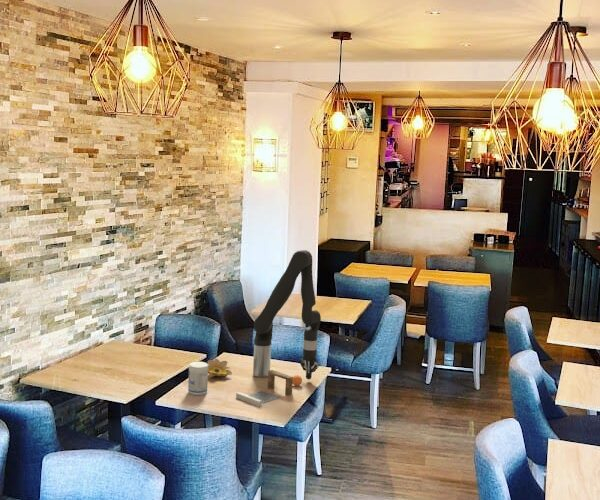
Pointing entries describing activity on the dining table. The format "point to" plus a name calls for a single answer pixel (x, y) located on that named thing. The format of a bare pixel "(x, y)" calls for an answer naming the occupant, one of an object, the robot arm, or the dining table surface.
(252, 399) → the stopper strip
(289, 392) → the bridge
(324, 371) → the dining table surface
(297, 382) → the ball
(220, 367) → the decorative flower
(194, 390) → the supplement tub
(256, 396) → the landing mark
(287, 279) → the robot arm
